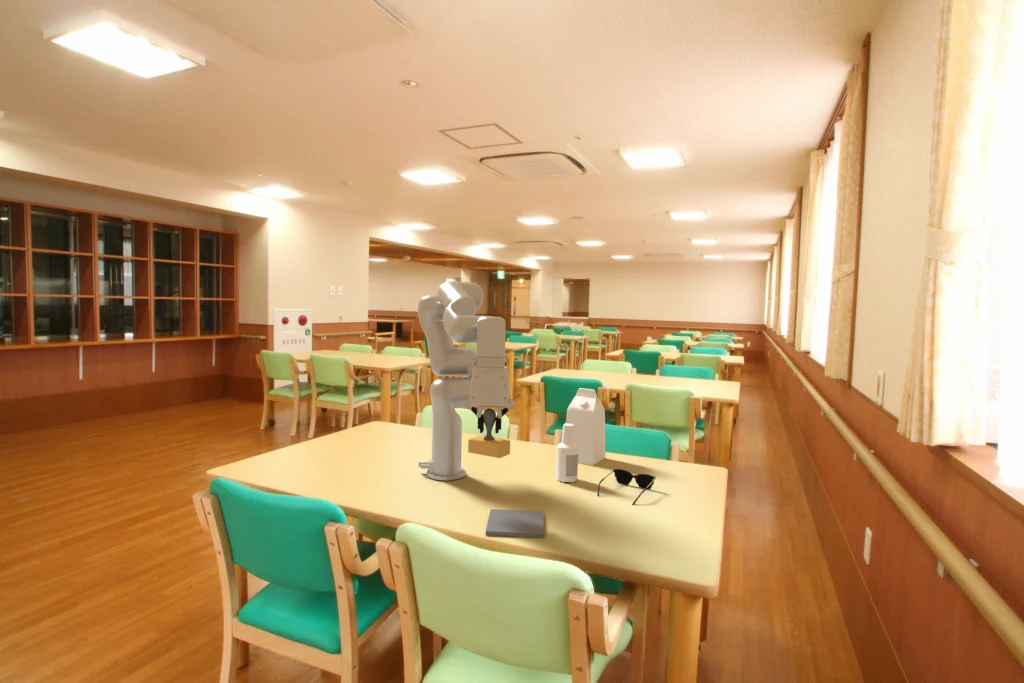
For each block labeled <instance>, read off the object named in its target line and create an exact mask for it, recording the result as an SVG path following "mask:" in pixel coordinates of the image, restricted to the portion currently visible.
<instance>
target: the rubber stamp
mask: <svg viewBox="0 0 1024 683" xmlns="http://www.w3.org/2000/svg"><path fill="white" fill-rule="evenodd" d="M483 411H484V412H482V414H483V420H484V427H485V429H486V430H485V431H486V434H485V435H481V434H480V435H477V436H473V437H471V438H468V440H467V441H468V442H467V444H468V445H467V447H468V448H467V453H470V454H476V455H480V456H486V457H492V458H497V459H502V458H504V457H506V456H509V455H511V454H510V453H511V440H510V439H506V438H500V437H494V436H493V435H492V431H493V428H494V426H495V420H496V417H497V412H496V410H494V409H493V408H492V407H487V408H486V409H484V410H483Z"/></svg>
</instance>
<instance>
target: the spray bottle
mask: <svg viewBox="0 0 1024 683" xmlns="http://www.w3.org/2000/svg"><path fill="white" fill-rule="evenodd" d="M578 464H579V463H578V446H577V445H576V444H575V443H574V425H573V424H568V423H567V424H566V423H564V424H563V426H562V431H561V442H559V443H558V444H557V446H556V468H555V479H557V481H558V482H560V481H561V482H560V483H564V482H573V483H576V482H577V480H578V470H579V465H578ZM575 481H576V482H575Z"/></svg>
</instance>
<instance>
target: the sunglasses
mask: <svg viewBox="0 0 1024 683" xmlns="http://www.w3.org/2000/svg"><path fill="white" fill-rule="evenodd" d="M612 473H614V474H613V475H614V478H615V480H616V482H617V483H618V484H621V483H622V485H625V484H628V485H630V483H631V482H632V480H633V479H634V482H635V483H636V484H637V486H638V488H640V487H641V488H640V489H643V490H642V491H641V492H640V493H639V495H638V496H637V497H636V498H635V500H634V501H633V502H632V503H631V505H632V506H634V504H635V505H636V504H637V501H638V500H639V499H640V497H641V496H642V494H644V492H645V491H647V490H651V489H652V488H653V486H654V484H655V480H656V479H657V478H656V476H653V475H652V474H647V473H637V474H636V475H635V474H632V472H630V471H629V470H625V469H622V468H621V469H620V468H613V469H612V470H611V471H610V472H608V474H607V475H605V477H603V478H602V479H601V480H600V481H599V482H598V486H597V487H598V488H597V496H599V497H600V491H601V490H600V488H601V484H602V482H603V481H605V479H606V478H608V477H609V476H610V475H611V474H612ZM644 488H645V489H644Z"/></svg>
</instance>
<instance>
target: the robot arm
mask: <svg viewBox="0 0 1024 683" xmlns="http://www.w3.org/2000/svg"><path fill="white" fill-rule="evenodd" d="M484 298H485V297H484V290H483V288H482V287H481V286H480V285H479V284H478V283H477V282H469V281H446V282H444V283H443V282H442V284H441V285H440V286H439V287H438V289H437V292H436V294H428V295H425V296H423V297H421V298H420V299H419V301H418V303H417V304H418V305H417V313H418V320H419V324H420V327H421V329H422V332H423V333H424V335H425V338H426V343H427V350H428V351H427V352H428V358H429V365H430V369H431V371H432V373H433V374H434V375H435V376H438V377H443V378H439V379H438V378H437V379H436V380H435V381H433V382H432V383H431V385H430V388H429V395H430V402H431V415H432V416H431V417H432V419H431V421H432V422H431V424H432V427H431V428H432V429H431V430H432V431H431V434H432V436H431V460H428V461H425V460H418V467H419V468H420V469H427V471H426V477H427V478H429V479H432V480H436V481H455V480H460V479H462V478H464V477H465V476H466V474H467V473H466V472H467V471H466V470H465V469H464V468H463V467H462V445H463V444H462V438H463V437H462V436H463V422H462V418H461V416H460V414H459V413H458V412H457V411H456V408H466V409H468V410H470V411H471V412H472V413H473V414H474V415H475V416H476V418H477V430H479V434H483V433H484V431H485V428H484V427H485V423H484V420H483V413H484V412H483V411H484V408H495V409H496V420H495V423H494V426H495V428H494V429H495V430H494V431H495V432H494V433H495V434H499V433H500V432H499V431H500V430H502V419H503V417H504V416H505V415H506V414H507V413H508V412H509V411H512V410H513V409H516V404H515V402H514V400H513V398H512V396H510V380H509V372H508V368H506V320H505V319H504V317H501V316H492V315H476V312H477V311H478V310H479V309H481V307H482V305H483V303H484ZM441 321H442V322H441ZM454 342H455V343H459V344H462V343H463V344H465V343H466V344H468V343H470V344H471V343H473V344H474V343H475V344H476V351H475V350H474V349H473V348H471V347H465V346H464V347H462V346H461V347H458V346H456V345H454ZM458 376H460V377H458ZM461 376H462V377H461Z"/></svg>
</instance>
